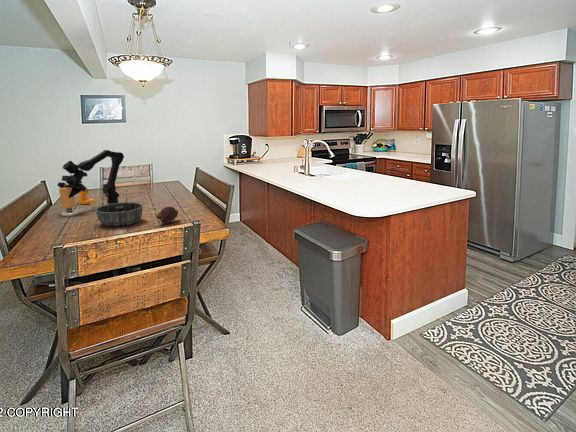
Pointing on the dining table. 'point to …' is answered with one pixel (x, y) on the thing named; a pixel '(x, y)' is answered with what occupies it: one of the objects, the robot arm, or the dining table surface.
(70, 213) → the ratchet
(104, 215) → the bundt pan
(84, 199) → the bracket
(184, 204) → the dining table surface
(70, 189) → the orange rectangular block
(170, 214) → the pine cone
